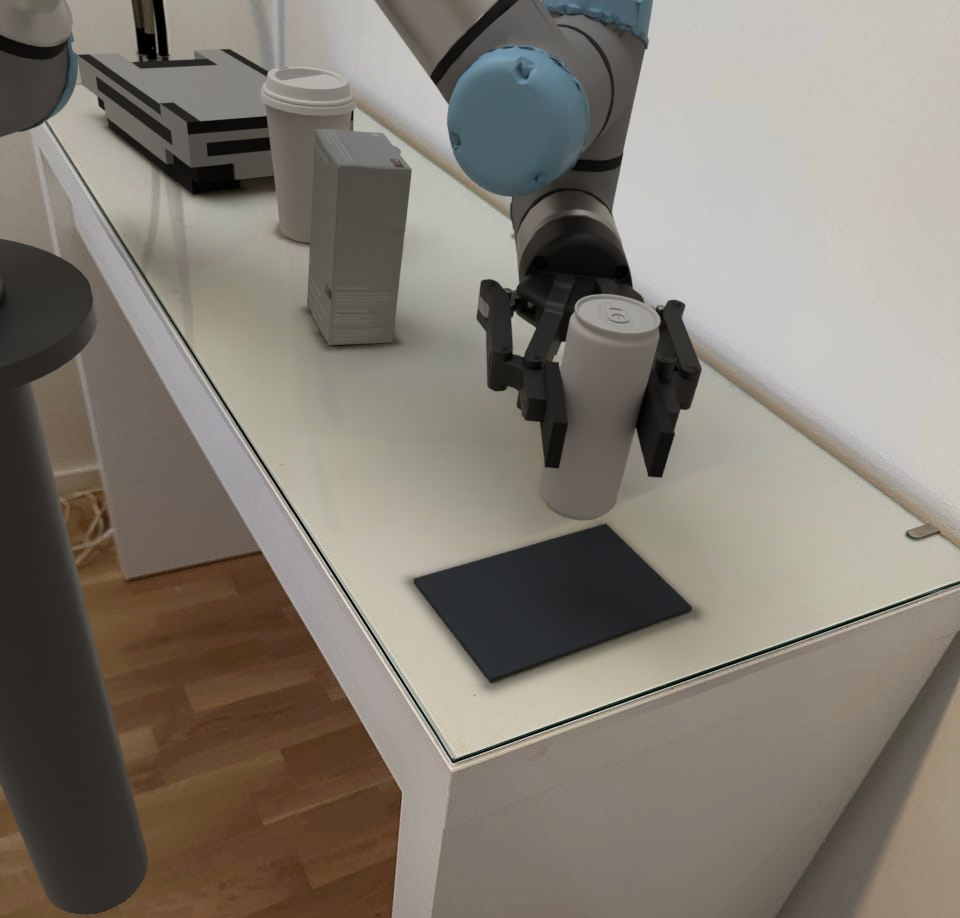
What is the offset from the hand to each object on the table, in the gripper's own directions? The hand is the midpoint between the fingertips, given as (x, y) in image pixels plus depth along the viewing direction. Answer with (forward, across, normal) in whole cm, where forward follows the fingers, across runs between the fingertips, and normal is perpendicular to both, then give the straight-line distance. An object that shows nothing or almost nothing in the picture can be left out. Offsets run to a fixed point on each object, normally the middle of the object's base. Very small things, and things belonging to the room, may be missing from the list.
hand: (609, 450), depth 48 cm
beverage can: (-5, 0, -7) cm, 9 cm away
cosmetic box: (-42, +16, -15) cm, 47 cm away
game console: (-87, +38, -15) cm, 96 cm away
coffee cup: (-63, +23, -15) cm, 69 cm away
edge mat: (-5, 0, -15) cm, 16 cm away
